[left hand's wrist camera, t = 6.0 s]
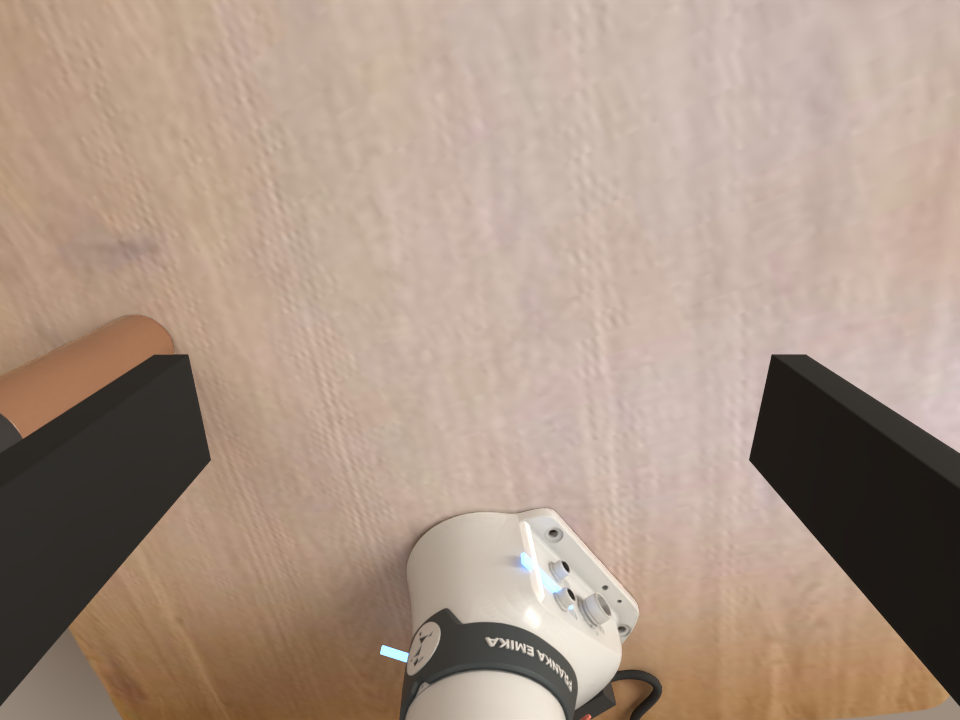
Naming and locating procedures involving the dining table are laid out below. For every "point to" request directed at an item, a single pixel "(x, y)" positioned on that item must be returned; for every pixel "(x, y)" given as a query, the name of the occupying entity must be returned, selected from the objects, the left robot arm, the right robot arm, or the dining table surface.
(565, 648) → the right robot arm
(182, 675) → the dining table surface
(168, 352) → the jar
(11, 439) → the lid
